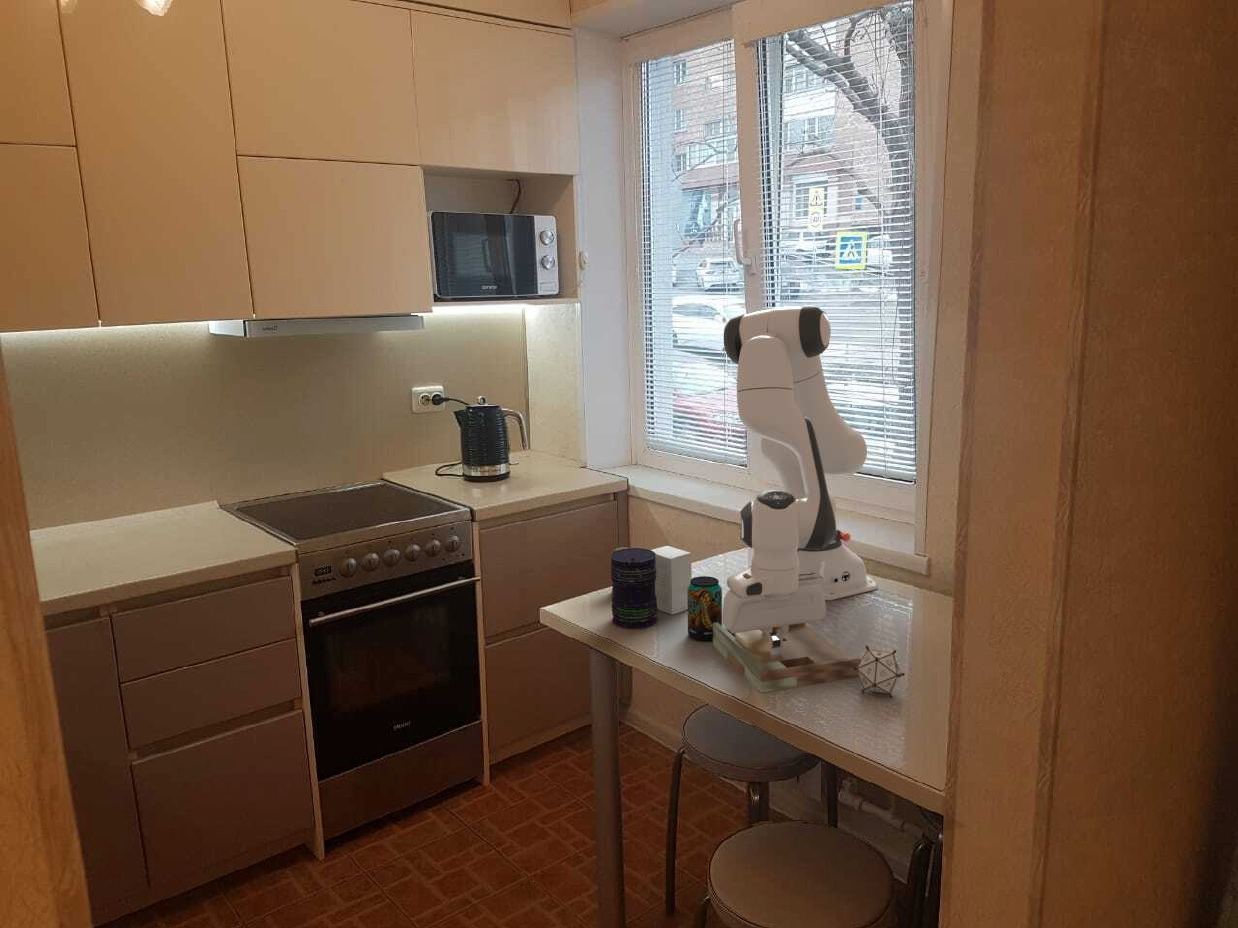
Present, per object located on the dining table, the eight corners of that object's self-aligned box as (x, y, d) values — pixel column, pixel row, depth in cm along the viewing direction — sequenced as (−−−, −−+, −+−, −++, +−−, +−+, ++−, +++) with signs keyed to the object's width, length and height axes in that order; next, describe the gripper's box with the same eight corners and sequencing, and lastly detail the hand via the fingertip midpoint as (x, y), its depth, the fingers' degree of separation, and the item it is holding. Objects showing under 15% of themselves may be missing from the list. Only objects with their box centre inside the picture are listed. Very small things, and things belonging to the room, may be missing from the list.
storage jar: (612, 612, 204) (611, 548, 201) (657, 612, 204) (656, 547, 200) (611, 629, 194) (609, 562, 191) (657, 629, 194) (656, 561, 191)
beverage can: (692, 643, 186) (691, 587, 183) (684, 630, 193) (683, 576, 190) (725, 641, 187) (725, 584, 184) (717, 628, 194) (716, 573, 191)
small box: (692, 608, 205) (692, 552, 203) (671, 615, 201) (670, 558, 199) (668, 599, 211) (667, 544, 209) (647, 605, 208) (646, 550, 205)
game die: (866, 709, 165) (841, 656, 168) (909, 690, 165) (884, 638, 168) (872, 706, 156) (846, 651, 160) (919, 687, 156) (891, 632, 160)
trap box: (802, 632, 190) (802, 609, 189) (859, 675, 170) (860, 650, 169) (713, 646, 185) (712, 622, 184) (761, 692, 164) (761, 666, 163)
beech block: (759, 648, 178) (759, 629, 177) (770, 658, 173) (771, 639, 172) (735, 652, 176) (735, 633, 175) (746, 662, 172) (746, 642, 171)
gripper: (816, 566, 179) (814, 633, 182) (719, 579, 173) (719, 648, 176) (832, 576, 173) (831, 645, 176) (733, 589, 167) (732, 661, 170)
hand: (774, 646), depth 176 cm, fingers closed
